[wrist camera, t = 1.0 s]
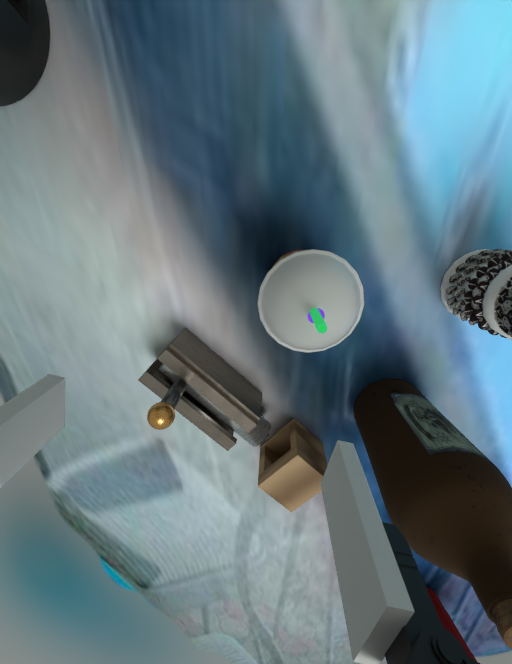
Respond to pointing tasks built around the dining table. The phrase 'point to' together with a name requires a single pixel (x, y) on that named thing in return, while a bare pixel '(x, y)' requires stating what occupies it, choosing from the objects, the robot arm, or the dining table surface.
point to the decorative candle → (481, 290)
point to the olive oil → (441, 492)
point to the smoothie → (310, 300)
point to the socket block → (292, 465)
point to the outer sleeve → (206, 388)
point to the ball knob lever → (164, 411)
